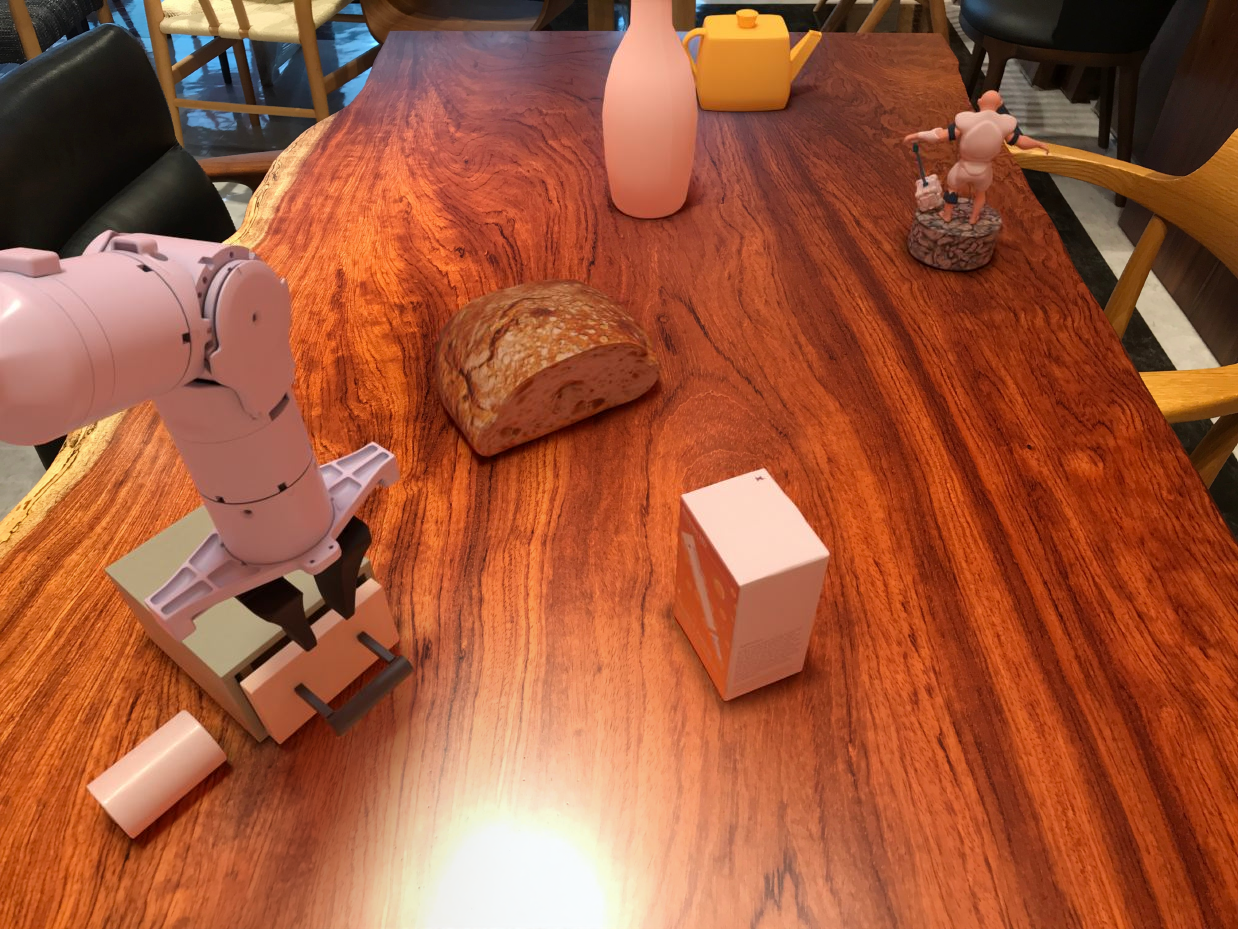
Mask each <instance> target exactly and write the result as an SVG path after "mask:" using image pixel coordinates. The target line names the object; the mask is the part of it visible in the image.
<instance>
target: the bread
mask: <svg viewBox="0 0 1238 929" xmlns="http://www.w3.org/2000/svg"><path fill="white" fill-rule="evenodd" d="M661 369H662V363H661V360H660V357H659V354H658V353H657V351H656V348H655V346H654V343H653V341H652V338H651V336H650V335H649V333H647V331H646V329H645V328H644V326H643V325H642V323H641V322H640V321H638V320H637V319H636V318H635V317H634V316H632V314H631V313H630V312H628V311H627V310H626V309H624V308H623V307H622V306H621V305H619V304H618V303H617V302H616V301H615V300H613V299H612V298H610V297H609V296H607V295H606V294H604V293H603V292H601V291H600V290H598V289H597V288H595V287H594V286H592V285H590V284H587V283H585V282H582V281H580V280H577V279H571V278H552V279H551V278H549V279H548V278H547V279H537V280H533V281H528V282H524V283H521V284H518V285H514V286H511V287H505V288H502V289H498V290H495V291H492V292H489V293H486V294H484V295H480V296H478V297H476V298H475V299H472V300H470V301H468V302H467V303H466V304H464V305H463V306H462V307H460V308H459V309H458V310H456V311H455V312H454V313H453V315H452V316H451V317H450V318H449V320H448V321H447V322H446V323H445V324H444V325H443V327H442V328H441V329H440V332H439V335H438V340H437V343H436V348H435V359H434V369H433V371H434V372H433V373H434V379H435V385H436V391H437V394H438V397H439V398H440V401H441V403H442V405H443V407H444V408H445V410H446V411H447V414H449V416H450V417H451V419H452V421H453V422H454V423H455V425H456V426H457V428H459V430H460V431H461V432H462V434H463V436H464V437H465V440H466V441H467V443H468V444H469V445H470V447H471V448H472V449H473V451H474V452H475V453H477V454H478V455H480V456H483V457H492V456H494V455H497V454H499V453H501V452H504V451H506V450H509V449H511V448H514V447H516V446H519V445H522V444H524V443H525V444H526V443H528V442H530V441H532V440H535V439H538V438H541V437H543V436H545V435H547V434H550V433H553V432H554V431H555V432H556V431H558V430H561V429H562V428H565V427H568V426H570V425H572V424H575V423H577V422H578V423H579V422H580V421H582V420H585V419H587V418H590V417H592V416H593V415H596V414H598V413H600V412H604V411H606V410H608V409H612V408H615V407H618V406H621V405H624V404H626V403H629V402H631V401H635V400H636V399H638V398H639V397H641V396H642V395H644V394H646V392H648V391H649V390H650V389H651V388H652V387H653V386H654V385H655V383H656V382H657V380H658V377H659V376H660V372H661Z"/></svg>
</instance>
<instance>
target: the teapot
mask: <svg viewBox="0 0 1238 929" xmlns="http://www.w3.org/2000/svg"><path fill="white" fill-rule="evenodd" d="M696 37H697V38H698V37H699V40H698V47H697V51H696V52H697V53H696V61H695V62H694V59H693V57H692V55H691V53H690V49H689V43H690V41H692V40H693V39H694V38H696ZM822 38H823V34H822V32H821V31H816V30H811V29H809V30H808V32H807V34H805V35H804V36H803V38H801V39H800V40H799V41H798V42H797V43H796V45H795V46H794V47H793V48H791V42H790V34H789V30H788V28H787V25H786V23H785V20H784V18H783V17H782V16H781V15H779V14H759V12H758V11H757V10H754V9H751V8H750V9H749V8H746V9H745V8H744V9H740V10H737V11H736V13H735V14H716V15H715V14H714V15H707V16H706V17H705V18H704V20H703V23H702V27H696V28H693V29H691V30H689V31H688V32H687V33H686V34H685V36H684V37H683V39H682V41H681V43H682V45H683V47H684V50H685V52H686V54H687V56H688V58H689V62H690V66H691V70H692V74H693V78H694V82H695V89H696V95H697V98H698V102H699V106H700V108H701V110H703V111H711V112H713V111H714V112H763V111H765V112H766V111H779V110H783V109H785V107H786V105H787V103H788V100H789V97H790V93H791V86H792V85H791V84H792V83H793V81H794V80H795V78H796V77H797V75H798V74H799V72H800V71H801V69H802V68H803V66H804V65H805V63H806V62H807V60H808V58H809V57H810V56H811V54H812V53H813V51H814V50H815V48H816V46H817V45H818V43H819V42H820V41H821V39H822Z"/></svg>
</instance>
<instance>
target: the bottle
mask: <svg viewBox="0 0 1238 929" xmlns="http://www.w3.org/2000/svg"><path fill="white" fill-rule="evenodd" d="M629 19H630V21H629V22H630V23H629V26H628V28H627V30H626V32H625V34H624V36H623V38H622V40H621V41H620V43H619V45H618V47H617V49H616V51H615V53H614V55H613V57H612V60H611V63H610V67H609V71H608V75H607V79H606V81H605V86H604V95H603V104H602V110H601V111H602V113H601V119H602V120H601V122H602V132H603V133H602V134H603V136H602V137H603V146H604V147H603V149H604V161H605V162H604V163H605V167H606V175H607V179H608V185H609V191H610V195H611V201H612V202H613V204H614V206H615V207H616V208H617V209H618V210H619V211H620V212H622V213H623V214H625V215H628V216H630V217H632V218H639V219H658V218H659V219H660V218H665V217H667V216H671V215H673V214H675V213H676V212H677V211H679V210H680V209H681V208H682V207H683V205H684V204H685V202H686V200H687V197H688V196H687V195H688V190H689V186H690V180H691V177H692V176H691V175H692V171H693V168H694V167H693V166H694V160H695V152H696V139H697V131H698V122H699V121H698V120H699V109H698V100H697V89H696V88H695V82H694V76H693V74H692V70H691V66H690V62H689V58H688V56H687V54H686V52H685V50H684V47H683V45H682V41H681V39H680V38H679V35H678V33H677V31H676V29H675V27H674V25H673V0H630V18H629Z"/></svg>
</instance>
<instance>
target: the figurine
mask: <svg viewBox="0 0 1238 929" xmlns="http://www.w3.org/2000/svg"><path fill="white" fill-rule="evenodd" d="M1003 105H1004V100H1003V99H1002V97H1001V95H1000V94H999V93H998V92H997V91H996V90H988V91H986V92H984V93H983V94H982V96H981V98H978V99H977V106H979V111H978V112H973V111H970V110H969V111H962V112H959V113H957V114H956V115H955V117H954V122H953V123H951V124H950V125H948V126H947V128H946V129H945V128H944V129H943V128H942V127H935V128H933V129H931V130H926V131H918V132H915V133H911V134H908V135H906V136H905V137H904V138H903V144H904V145H905V144H908V141H909V142H910V144H912V151H913V153H915V155H916V160H917V164H918V167H919V173H920V177H921V178H920V179H918V180H916V181H915V184H914V186H915V188H916V192H915V193H914V197H915V200H916V204H917V205H916V207H915V210H914V214H913V217H912V222H911V226H910V230H909V234H908V239H907V244H906V246H907V249H908V252H909V253H910V254H911V256H913V257H914V258H915V259H916V260H917V261H919V262H921V263H923V264H925V265H927V266H930V267H934V268H936V269H941V270H947V271H972V270H976V269H979V268H981V267H983V266H985V265H986V264H988V262H989V261H990V260H991V258H992V255H993V252H994V249H995V246H996V243H997V240H998V237H999V234H1000V231H1001V228H1002V225H1003V224H1002V223H1003V220H1002V217H1001V215H1000V213H999V212H998V211H997V210H996V209H994V208H993V207H991V206H989V205H988V204H986V190H988V189H989V188H990V187H991V185H992V183H993V180H994V179H993V178H994V173H993V167H992V163H993V162H992V160H993V159H994V158H995V157H996V156H998V155H999V153H1000V152H1001V149H1002V146H1003V144H1004V141H1005V144H1006V145H1008V146H1009V147H1013V146H1014V147H1016V148H1018V149H1020V150H1022V151H1029V150H1032V149H1033V150H1034V149H1036V148H1037V149H1038V148H1039V149H1040V150H1044V151H1046V152H1045V155H1046V156H1048V155H1049V153H1050V148H1049V147H1048V146H1047V145H1046V144H1045V143H1043V142H1041V141H1039V140H1036V139H1033V138H1031V137H1029V136H1027V135H1021V133H1020V131H1019V130H1018V127H1017V124H1018V120H1017V119H1016V117H1015V116H1014V115H1010V114H1007V113H1002V114H999V113H998V112H997V110H998V109H999V108H1000V107H1001V106H1003ZM958 138H960V141H959V146H958V148H959V155H960V157H961V158H960V159H959V161H957V162H956V163H955V164H954V165H953V166H952V167H951V169H949V172H948V174H947V176H946V184H947V186H948V189H947V190H945V191H944V194H943V188H942V186H941V182H940V180H939V178H938V175H937V174H935V173H934V174H931V175H929V176H926V175H925V171H924V167H923V163H922V159H921V155H920V153H919V151H920V149H919V144H918V142H919V140H923V141H924V142H927V143H928V144H930V145H934V144H938V143H941V142H945V141H949V142H954V141H956V140H957V139H958ZM968 183H973V186H974V190H975V194H976V195H975V198H974V199H970V198H966V197H959V193H958V190H959V189H960V188H961V187H963V186H964V185H965V184H968ZM942 194H943V196H942Z"/></svg>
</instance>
